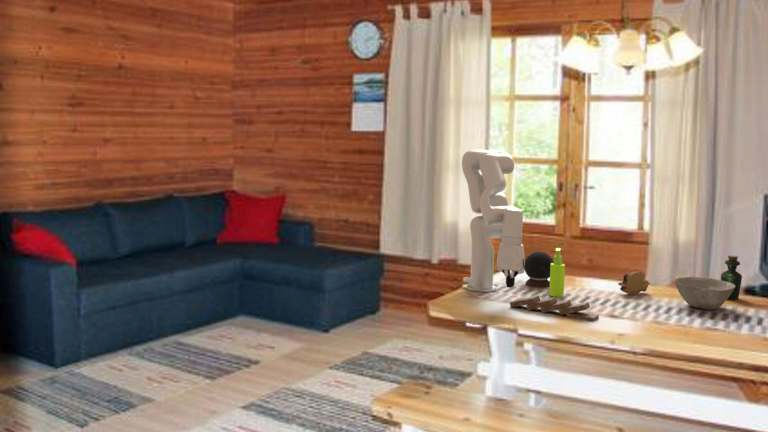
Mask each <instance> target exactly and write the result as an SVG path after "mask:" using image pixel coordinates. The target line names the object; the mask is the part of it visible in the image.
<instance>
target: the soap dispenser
mask: <svg viewBox="0 0 768 432" xmlns="http://www.w3.org/2000/svg"><path fill="white" fill-rule="evenodd" d="M561 250H562V247H556V248H555V255H554V256H553V261H554V263H551V266H550V277H549V281H550V287H548V288H549V290H548V291H549V293H548V295H549V296H550V297H556V298H557V297H558V298H559V297H560V298H562V297H564V296H565V294H564V293H565V278H566V277H565V274H566V264H565V263H563V256H562V254H561Z"/></svg>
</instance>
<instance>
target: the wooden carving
mask: <svg viewBox="0 0 768 432" xmlns="http://www.w3.org/2000/svg"><path fill="white" fill-rule="evenodd" d="M645 277H646V273H645V272H644V271H643V272H642V271H636V270H633V271H630V272H629V271H628V273H625V274H623V280H622V281H621V282H617V284H618V286H620V287H619V290H620V291H621V292H623V293H626V294H627V295H630V296H634V295H639V293H641V292H643V293H645V292H647V289H648V287H649V285H650V282H649V281H648V280H646V279H645Z"/></svg>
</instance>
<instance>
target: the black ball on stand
mask: <svg viewBox="0 0 768 432" xmlns="http://www.w3.org/2000/svg"><path fill="white" fill-rule="evenodd" d="M551 263H554V258H553V257H552V256H551V254H548V253H546V252H545V251H541V250H540V251H539V250H538V251H534V252H531V253H530V254H528V255H527V257H526V258H525V266H524V273H525V274H526V275H527V276H528V278H529V279H527V280H526V281H525V286H528V287H532V288H539V289H540V288H542V289H543V288H549V287H550V280H548V279H550V266H551Z"/></svg>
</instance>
